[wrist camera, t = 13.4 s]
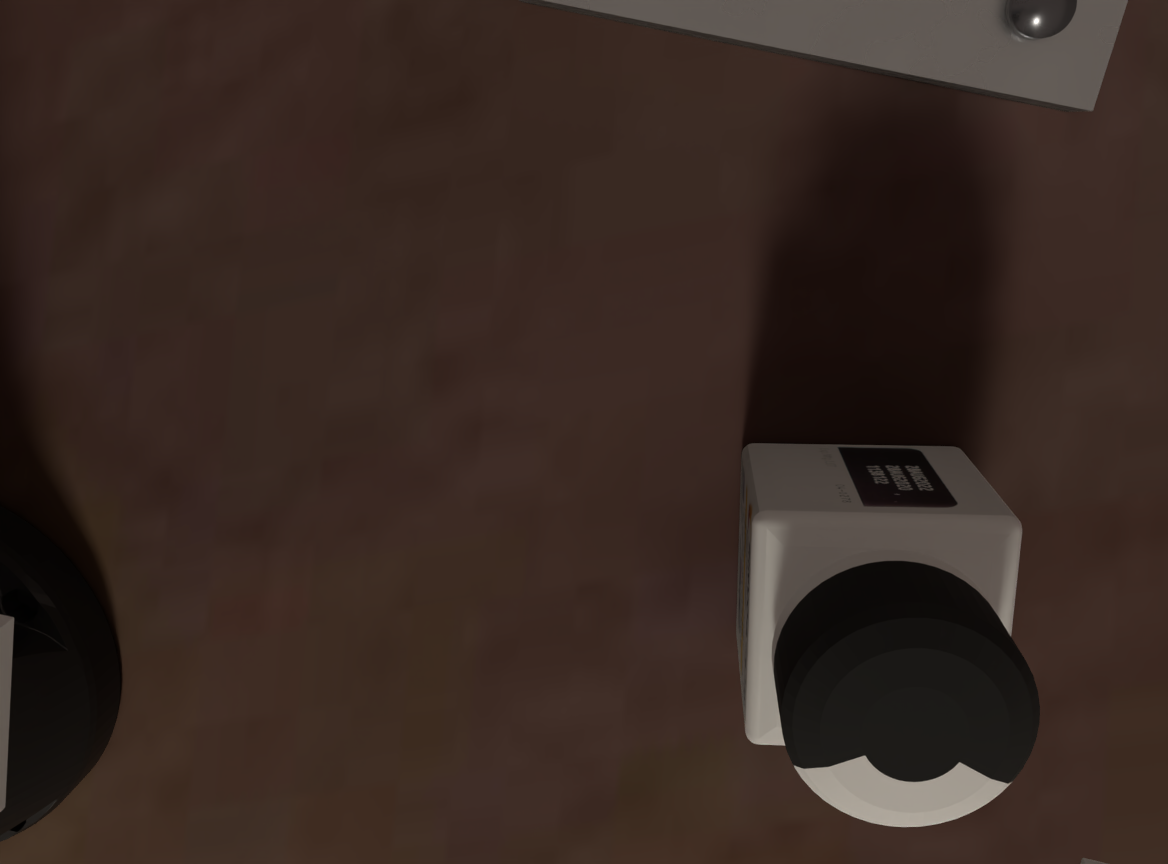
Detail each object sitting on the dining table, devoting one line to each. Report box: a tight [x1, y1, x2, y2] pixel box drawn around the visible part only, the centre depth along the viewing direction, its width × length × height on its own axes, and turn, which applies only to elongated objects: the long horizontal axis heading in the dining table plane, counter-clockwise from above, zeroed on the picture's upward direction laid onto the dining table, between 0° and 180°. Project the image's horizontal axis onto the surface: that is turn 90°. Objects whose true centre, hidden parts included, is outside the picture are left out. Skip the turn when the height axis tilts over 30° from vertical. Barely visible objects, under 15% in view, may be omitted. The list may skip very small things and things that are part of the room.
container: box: [736, 443, 1040, 827], centre depth 34 cm, size 8×8×13 cm
